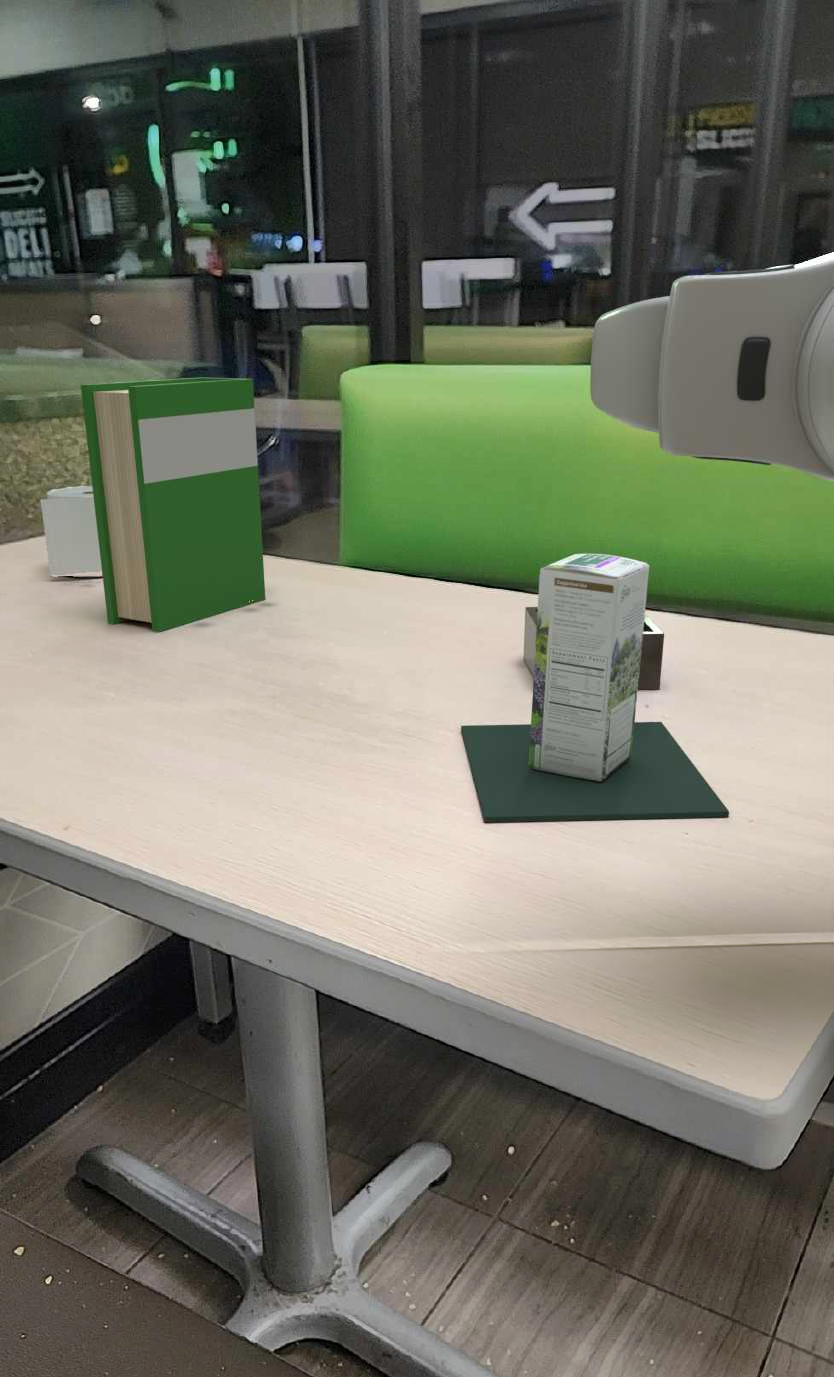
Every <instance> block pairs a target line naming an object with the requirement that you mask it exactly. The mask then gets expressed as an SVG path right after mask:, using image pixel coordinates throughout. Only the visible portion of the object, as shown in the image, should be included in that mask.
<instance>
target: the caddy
mask: <svg viewBox="0 0 834 1377" xmlns="http://www.w3.org/2000/svg"><path fill="white" fill-rule="evenodd" d="M537 612H538V606H525V607H524V631H523V632H524V634H523V635H524V636H523V660H524V662H525V664H526V666H527V669H528V670H529V672H530V675H531V676H532V679H533V680H534V663H535V645H536V629H537ZM664 641H665V633H664V631H662V629H661V628H659V626H658V625H656V624H655V622H653V621H652V619H650V618H649V616H648V615H646V614H645V617H644V628H643V640H642V650H641V660H640V671H639V681H638V690H640V691H641V690H644V691H645V690H660V688H661V678H662V666H663V653H664V645H665V644H664V643H665V642H664Z"/></svg>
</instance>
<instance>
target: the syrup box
mask: <svg viewBox="0 0 834 1377" xmlns="http://www.w3.org/2000/svg"><path fill="white" fill-rule="evenodd" d="M649 573H650V564H648V563H647V562H644V561H640V560H637V559H633V558H628V557H623V556H620V555H619V556H618V555H611V554H602V553H575V554H572V555H570V556H567V557H565V558H562V559H560V560H558V561H555V562H552V563H550V564H547V565H546V566H543V567H541V568H540V569H539V577H538V578H539V579H538V596H537V607H538V612H537V629H536V645H535V663H534V679H533V681H532V683H533V684H532V699H531V700H532V701H531V714H530V716H531V717H530V724H531V732H530V750H529V766H530V767H531V768H533V769H537V770H542V771H547V772H552V773H557V774H562V775H567V776H572V777H578V778H584V779H589V780H594V781H600V782H601V781H603V780H604V779H606V778H607V777H608V776H609V775H610V774H611V773H612V772H614V771H615V770H616V769H617V768H619V767H620V766H621V765H622V764H623V763H624V762H626V761H627V760H628V759H629V758H630V757H631V753H632V743H633V733H634V722H636V711H637V700H638V681H639V671H640V660H641V650H642V640H643V628H644V617H645V615H646V606H647V596H648V583H649Z"/></svg>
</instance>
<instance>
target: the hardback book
mask: <svg viewBox="0 0 834 1377" xmlns="http://www.w3.org/2000/svg"><path fill="white" fill-rule="evenodd" d="M80 391H81V401H82V408H83V418H84V427H85V435H86V436H85V437H86V441H87V442H86V443H87V453H88V461H89V470H90V479H91V486H92V488H93V497H94V506H95V514H96V523H97V532H98V540H99V549H100V558H101V566H102V575H103V576H102V584H103V592H104V600H105V608H106V617H107V624H111V625H116V624H119V623H124V622H127V621H130V620H134V621H140V622H146V623H151V631H152V632H157V633H160V632H165V631H166V630H167V631H168V630H170V629H174V628H177V627H180V626H184V625H187V624H190V623H193V622H196V621H200V620H204V619H206V618H210V617H212V616H216V615H220V614H223V613H226V612H229V611H233V610H235V609H238V608H241V607H245V606H249V605H251V604H255V603H258V602H261V601H264V600H266V585H265V570H264V569H265V567H264V565H265V564H264V550H263V548H264V547H263V534H262V532H263V531H262V516H261V514H262V513H261V500H260V498H261V496H260V479H259V478H260V477H259V462H258V446H257V428H256V413H255V412H256V410H255V394H254V393H255V390H254V379H253V378H235V377H234V378H232V377H202V376H201V377H185V378H168V379H155V380H154V379H153V380H136V381H121V382H103V383H88V384H80ZM252 600H253V601H252ZM249 601H250V602H249Z"/></svg>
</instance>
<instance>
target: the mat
mask: <svg viewBox="0 0 834 1377" xmlns="http://www.w3.org/2000/svg"><path fill="white" fill-rule="evenodd" d="M460 731H461V736H462V739H463V740H462V741H463V743H464V747H465V751H466V754H467V760H468V763H469V768H470V771H471V774H472V779H473V782H474V787H475V791H476V795H477V799H478V803H479V808H480V810H481V816H482V819H483V822H484V823H516V822H518V823H520V822H523V823H525V822H562V821H563V822H565V821H568V822H569V821H604V820H605V821H608V820H609V821H611V820H644V819H645V820H646V819H647V820H648V819H651V820H652V819H689V818H691V819H692V818H694V819H695V818H729V816H730V811H729V809H728V807H727V806H726V805H725V804H724V802H722V800H721V799H720V797H719V796H718V795H717V793H716V792H715V791H714V790H713V788H712V787H711V786H710V784H709V783H708V782H707V780H706V779H705V778H704V776H703V775H702V773H701V772H700V771H699V770H698V768H697V767H696V765H694V764H695V763H693V762H692V760H691V759H690V758H689V757H688V755H687V754H686V752H685V751H684V749H683V748H682V747H681V746H680V744H679V743H678V742H677V740H676V739H675V737H674V736H673V735H672V734H671V732H670V731H669V730H668V729H667V727H666V726H665V724H664V723H663V722H662V721H635V722H634V733H633V743H632V753H631V757H630V758H629V759H628V760H627V761H626V762H624V763H623V764H622V765H621V766H620V767H619V768H617V769H616V770H615V771H614V772H612V773H611V774H610V775H609V776H608V777H607V778H606V779H604V780H603V781H601V782H600V781H594V780H589V779H584V778H578V777H572V776H567V775H562V774H557V773H552V772H547V771H542V770H537V769H533V768H531V767H530V766H529V750H530V732H531V723H528V724H527V723H525V724H524V723H522V724H478V725H477V724H474V725H471V724H470V725H469V724H468V725H460Z"/></svg>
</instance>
